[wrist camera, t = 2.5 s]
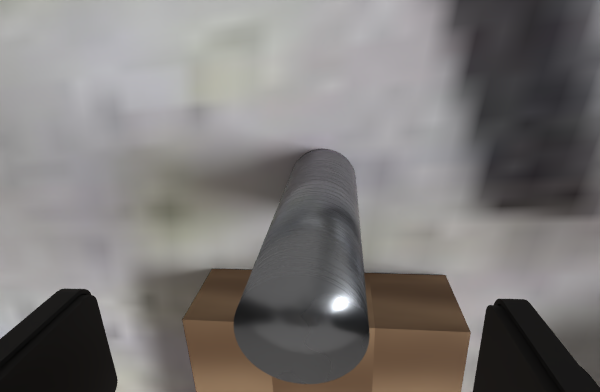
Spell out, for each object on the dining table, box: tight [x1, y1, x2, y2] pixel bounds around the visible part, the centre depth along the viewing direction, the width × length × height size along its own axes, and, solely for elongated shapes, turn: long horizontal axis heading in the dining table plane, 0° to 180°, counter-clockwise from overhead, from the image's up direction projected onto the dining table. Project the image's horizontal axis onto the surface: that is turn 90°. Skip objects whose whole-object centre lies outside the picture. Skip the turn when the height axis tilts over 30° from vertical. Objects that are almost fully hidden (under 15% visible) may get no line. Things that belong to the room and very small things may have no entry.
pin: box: [234, 149, 370, 384], centre depth 13 cm, size 3×3×10 cm
